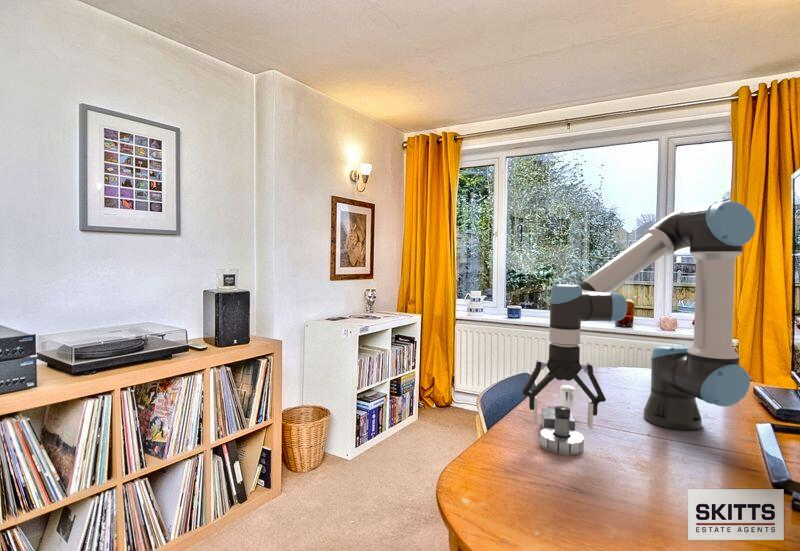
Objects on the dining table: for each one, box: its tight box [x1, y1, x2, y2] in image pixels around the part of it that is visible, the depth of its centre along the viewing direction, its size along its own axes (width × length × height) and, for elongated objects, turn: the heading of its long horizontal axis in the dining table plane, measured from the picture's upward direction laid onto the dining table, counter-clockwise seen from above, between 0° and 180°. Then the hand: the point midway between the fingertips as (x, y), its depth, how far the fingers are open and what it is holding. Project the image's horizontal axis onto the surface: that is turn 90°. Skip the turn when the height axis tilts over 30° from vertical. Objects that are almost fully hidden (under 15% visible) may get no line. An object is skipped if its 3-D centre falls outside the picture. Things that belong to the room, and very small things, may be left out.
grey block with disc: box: [539, 406, 585, 456], centre depth 121 cm, size 10×22×5 cm, turn 166°
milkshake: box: [559, 383, 579, 415], centre depth 140 cm, size 4×5×10 cm
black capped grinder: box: [554, 405, 570, 438], centre depth 116 cm, size 4×4×10 cm
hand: (562, 424), depth 116 cm, fingers open, 13 cm apart
